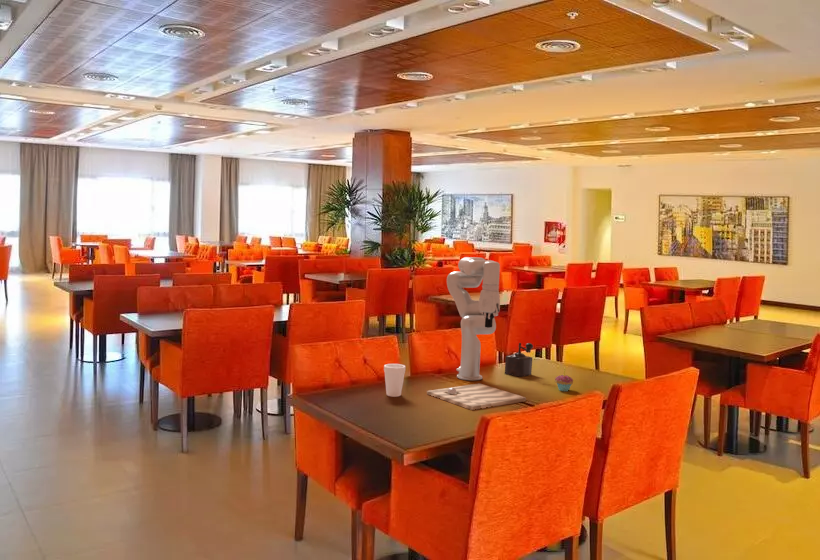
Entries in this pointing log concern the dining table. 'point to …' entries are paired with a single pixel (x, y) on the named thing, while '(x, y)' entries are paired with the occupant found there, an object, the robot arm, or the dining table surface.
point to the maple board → (477, 396)
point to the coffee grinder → (519, 362)
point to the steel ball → (452, 391)
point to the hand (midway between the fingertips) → (488, 327)
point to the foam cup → (394, 379)
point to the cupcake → (564, 382)
